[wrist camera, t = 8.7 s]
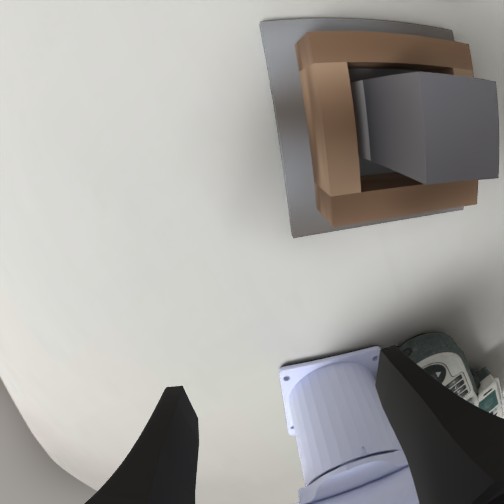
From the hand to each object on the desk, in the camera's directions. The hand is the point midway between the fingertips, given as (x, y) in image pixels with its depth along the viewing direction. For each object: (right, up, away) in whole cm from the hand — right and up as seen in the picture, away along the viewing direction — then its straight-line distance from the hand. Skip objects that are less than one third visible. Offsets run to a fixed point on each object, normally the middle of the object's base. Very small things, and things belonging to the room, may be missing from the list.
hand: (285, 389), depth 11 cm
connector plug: (+6, +12, +5) cm, 14 cm away
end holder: (+6, +12, +5) cm, 15 cm away
